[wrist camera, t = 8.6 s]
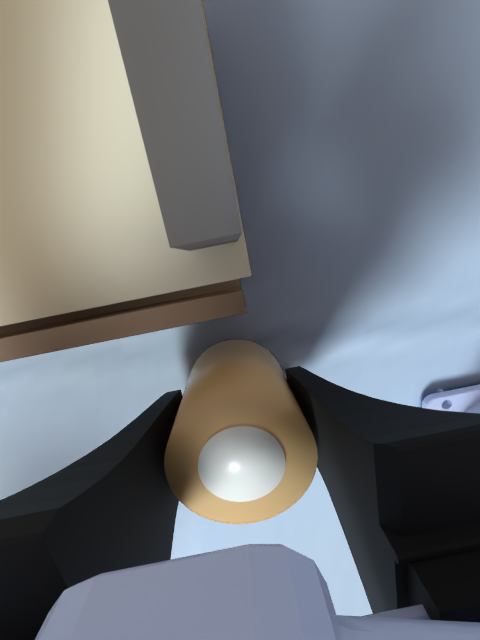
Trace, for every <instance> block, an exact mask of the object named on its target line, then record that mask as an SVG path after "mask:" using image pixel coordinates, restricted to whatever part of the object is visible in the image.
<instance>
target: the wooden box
mask: <svg viewBox="0 0 480 640" xmlns="http://www.w3.org/2000/svg"><path fill="white" fill-rule="evenodd" d="M245 313H247V311H246V306H245V301H244V295H243V290H242V288H241V285H240V280H239V279H235V280H230V281H225V282H220V283H215V284H210V285H205V286H200V287H195V288H190V289H185V290H180V291H175V292H170V293H165V294H160V295H155V296H150V297H145V298H140V299H135V300H130V301H125V302H120V303H115V304H110V305H105V306H100V307H95V308H90V309H85V310H80V311H75V312H70V313H64V314H59V315H54V316H49V317H44V318H39V319H34V320H29V321H24V322H19V323H14V324H9V325H4V326H0V362H4V361H9V360H14V359H19V358H24V357H29V356H34V355H39V354H44V353H49V352H54V351H59V350H64V349H69V348H74V347H79V346H84V345H89V344H94V343H99V342H104V341H109V340H114V339H119V338H124V337H129V336H134V335H139V334H144V333H149V332H154V331H159V330H164V329H169V328H174V327H179V326H184V325H189V324H194V323H199V322H204V321H209V320H214V319H219V318H225V317H230V316H235V315H240V314H245Z"/></svg>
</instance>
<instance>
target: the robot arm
mask: <svg viewBox="0 0 480 640" xmlns="http://www.w3.org/2000/svg"><path fill="white" fill-rule="evenodd" d="M285 370H286V376H287V381H288V384H289V386H290V388H291V390H292V392H293V394H294V396H295V398H296V400H297V402H298V404H299V406H300V408H301V411H302V413H303V415H304V417H305V419H306V421H307V423H308V425H309V427H310V429H311V431H312V433H313V436H314V439H315V441H316V446H317V454H318V460H317V468H318V470H319V472H320V474H321V476H322V478H323V480H324V482H325V485H326V487H327V489H328V492H329V494H330V497H331V500H332V502H333V505H334V507H335V510H336V513H337V515H338V518H339V521H340V523H341V526H342V529H343V531H344V534H345V537H346V539H347V542H348V545H349V548H350V550H351V553H352V556H353V559H354V561H355V564H356V567H357V570H358V573H359V575H360V578H361V581H362V584H363V586H364V589H365V592H366V595H367V598H368V601H369V604H370V606H371V609H372V612H373V614H370V615H365V616H341V615H336V613H335V609H334V606H333V603H332V600H331V596H330V593H329V590H328V586H327V583H326V581H325V580H324V578H323V576H322V574H321V573H320V571H319V569H318V567H317V566H316V564H315V562H314V561H313V560H312V559H310V558H308V557H306V556H304V555H302V554H300V553H298V552H296V551H294V550H292V549H290V548H288V547H286V546H284V545H281V544H248V545H243V546H238V547H233V548H228V549H223V550H218V551H213V552H208V553H203V554H197V555H192V556H187V557H182V558H177V559H172V560H170V558H171V549H172V541H173V533H174V525H175V518H176V512H177V507H178V502H179V499H178V498H177V497H176V496H175V494H174V493H173V491H172V489H171V488H170V486H169V483H168V481H167V478H166V474H165V468H164V456H165V450H166V446H167V443H168V440H169V437H170V434H171V431H172V428H173V425H174V422H175V418H176V415H177V412H178V409H179V406H180V403H181V400H182V397H183V396H182V393H181V390H177V391H172V392H167V393H165V394H164V395H163V396H161V397H160V398H159V399H158V400H157V401H155V402H154V403H153V404H152V405H151V406H150V407H149V408H147V409H146V410H145V411H144V412H143V413H142V414H141V415H139V416H138V417H137V418H136V419H135V420H133V421H132V422H131V423H130V424H129V425H127V426H126V427H125V428H124V429H122V430H121V431H120V432H119V433H117V434H116V435H115V436H113V437H112V438H111V439H109V440H108V441H107V442H105V443H104V444H102V445H101V446H99V447H98V448H96V449H95V450H93V451H92V452H90V453H89V454H87V455H86V456H84V457H82V458H81V459H79V460H77V461H76V462H74V463H72V464H70V465H69V466H67V467H65V468H64V469H62V470H60V471H59V472H57V473H55V474H53V475H51V476H49V477H47V478H46V479H44V480H42V481H40V482H38V483H36V484H34V485H32V486H30V487H28V488H26V489H24V490H22V491H20V492H18V493H16V494H14V495H11V496H9V497H7V498H5V499H2V500H0V640H480V384H479V385H474V386H469V387H464V388H459V389H454V390H449V391H444V392H439V393H434V394H430V395H428V396H426V397H425V398H424V399H423V401H422V408H419V407H413V406H407V405H402V404H397V403H392V402H388V401H384V400H379V399H376V398H372V397H369V396H365V395H362V394H359V393H356V392H353V391H350V390H348V389H345V388H343V387H341V386H338V385H336V384H334V383H331V382H329V381H327V380H325V379H323V378H321V377H319V376H317V375H315V374H313V373H311V372H310V371H308V370H306V369H304V368H302V367H300V366H297V367H292V368H287V369H285ZM444 401H445V402H444ZM443 402H444V403H443ZM442 403H443V404H442Z"/></svg>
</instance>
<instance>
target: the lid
mask: <svg viewBox="0 0 480 640" xmlns="http://www.w3.org/2000/svg"><path fill="white" fill-rule="evenodd" d="M250 276H252V275H251V269H250V264H249V258H248V253H247V247H246V241H245V236H244V230H243V225H242V219H241V214H240V208H239V203H238V197H237V192H236V186H235V180H234V175H233V169H232V164H231V158H230V153H229V147H228V142H227V136H226V130H225V125H224V119H223V114H222V108H221V103H220V97H219V92H218V86H217V80H216V75H215V69H214V64H213V58H212V53H211V47H210V42H209V36H208V31H207V25H206V19H205V14H204V8H203V3H202V0H0V326H4V325H9V324H14V323H19V322H24V321H29V320H34V319H39V318H44V317H49V316H54V315H59V314H64V313H70V312H75V311H80V310H85V309H90V308H95V307H100V306H105V305H110V304H115V303H120V302H125V301H130V300H135V299H140V298H145V297H150V296H155V295H160V294H165V293H170V292H175V291H180V290H185V289H190V288H195V287H200V286H205V285H210V284H215V283H220V282H225V281H230V280H235V279H240V278H245V277H250Z"/></svg>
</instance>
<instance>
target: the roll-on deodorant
mask: <svg viewBox="0 0 480 640" xmlns="http://www.w3.org/2000/svg"><path fill="white" fill-rule="evenodd" d="M317 460H318V454H317V446H316V441H315V439H314V436H313V433H312V431H311V429H310V427H309V425H308V423H307V421H306V419H305V417H304V415H303V413H302V411H301V408H300V406H299V404H298V402H297V400H296V398H295V396H294V394H293V392H292V390H291V388H290V386H289V384H288V381H287V379H286V377H285V375H284V373H283V371H282V369H281V367H280V365H279V363H278V361H277V360H276V358H275V357H274V356H273V354H272V353H271V352H270V351H269V350H267V349H266V348H265V347H263V346H261V345H259V344H257V343H255V342H252V341H248V340H242V339H232V340H226V341H222V342H219V343H217V344H214V345H213V346H211V347H209V348H208V349H207V350H205V351H204V352H203V353H202V354H201V355H200V356H199V357H198V359H197V360H196V362H195V363H194V365H193V367H192V370H191V373H190V376H189V379H188V382H187V385H186V388H185V391H184V394H183V397H182V400H181V403H180V406H179V409H178V412H177V415H176V418H175V422H174V425H173V428H172V431H171V434H170V437H169V440H168V443H167V446H166V450H165V456H164V468H165V474H166V478H167V481H168V483H169V486H170V488H171V489H172V491H173V493H174V494H175V496H176V497H177V498H178V499H179V501H180V502H182V503H183V504H184V505H185V506H186V507H187V508H189V509H190V510H191V511H193V512H194V513H196V514H198V515H200V516H202V517H204V518H207V519H209V520H213V521H216V522H221V523H227V524H248V523H255V522H259V521H263V520H266V519H269V518H272V517H274V516H276V515H278V514H280V513H282V512H284V511H285V510H287V509H288V508H290V507H291V506H292V505H293V504H295V503H296V502H297V501H298V500H299V499H300V498H301V497H302V496H303V495H304V493H305V492H306V491H307V489H308V488H309V486H310V484H311V482H312V480H313V478H314V475H315V472H316V468H317Z"/></svg>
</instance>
